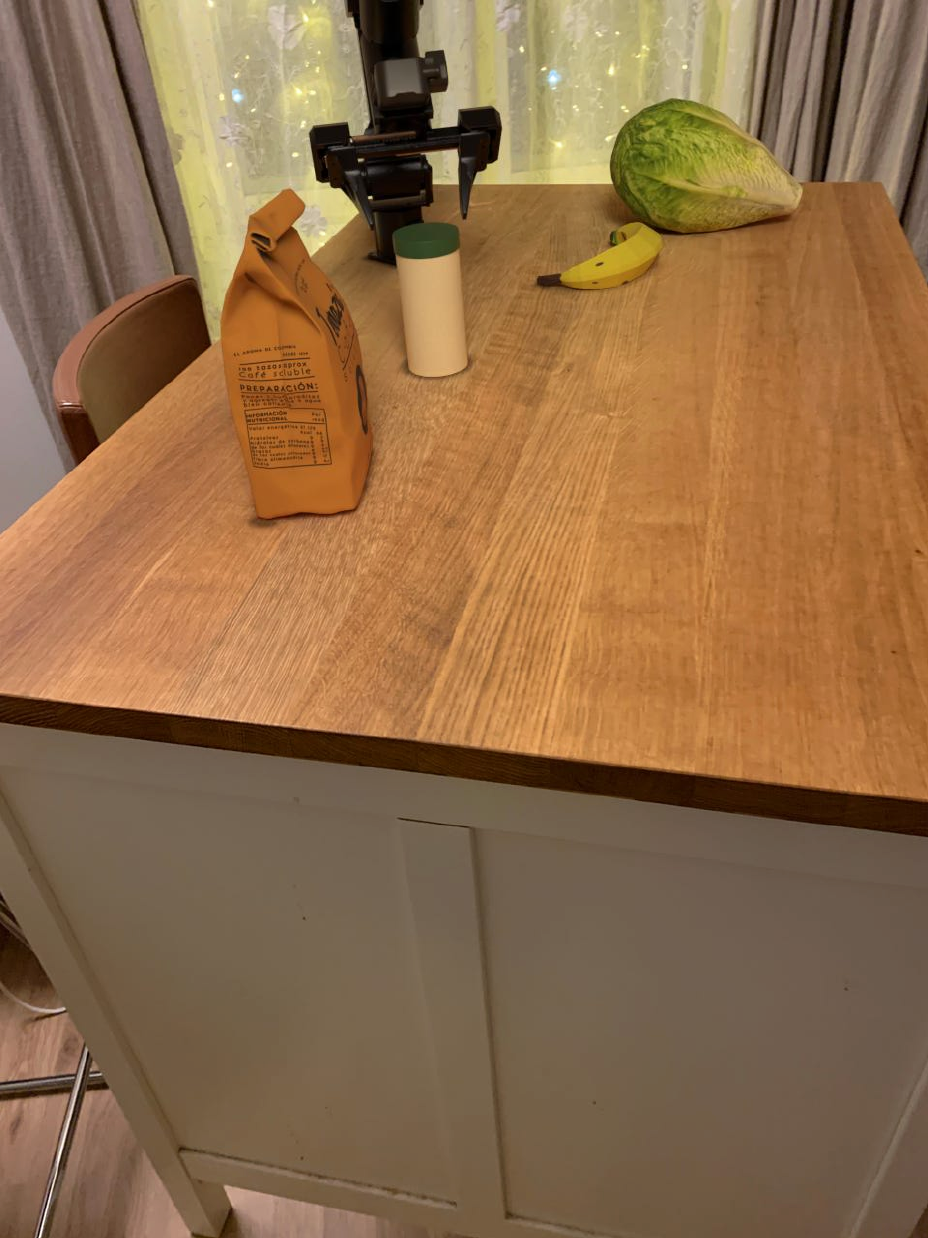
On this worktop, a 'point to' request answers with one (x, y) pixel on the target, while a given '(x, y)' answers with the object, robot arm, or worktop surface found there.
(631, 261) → the banana
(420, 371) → the cheese shaker
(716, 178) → the lettuce
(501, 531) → the worktop surface
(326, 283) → the coffee package
